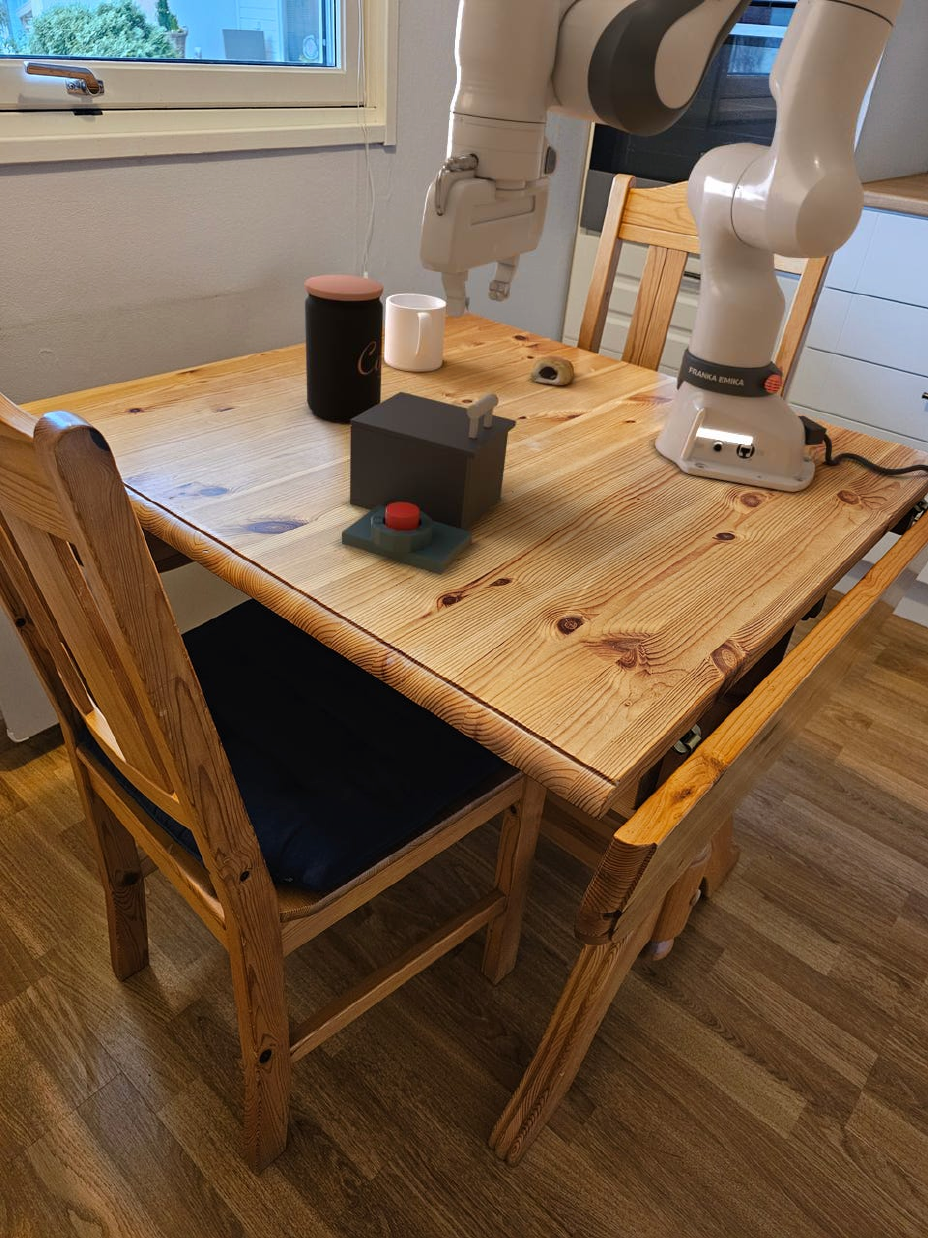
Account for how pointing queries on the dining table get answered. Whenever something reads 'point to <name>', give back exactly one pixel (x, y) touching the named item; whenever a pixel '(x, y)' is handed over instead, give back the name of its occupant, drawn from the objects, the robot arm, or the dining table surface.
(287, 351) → the dining table surface
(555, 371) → the pastry
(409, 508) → the button
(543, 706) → the dining table surface
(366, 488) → the dark grey box
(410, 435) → the lid
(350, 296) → the coffee jar
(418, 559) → the control block
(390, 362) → the mug
